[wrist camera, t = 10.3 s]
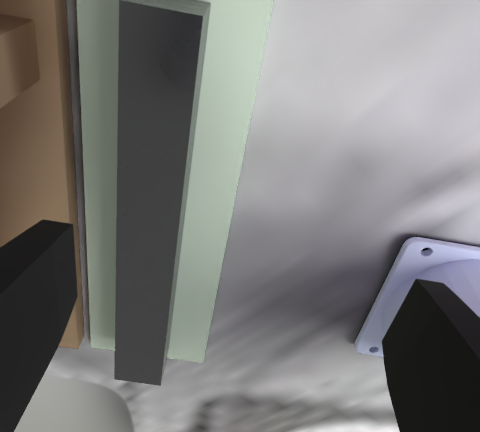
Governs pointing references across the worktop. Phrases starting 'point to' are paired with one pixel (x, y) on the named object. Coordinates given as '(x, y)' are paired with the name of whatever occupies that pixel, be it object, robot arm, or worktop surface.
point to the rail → (153, 171)
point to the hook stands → (37, 129)
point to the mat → (202, 167)
